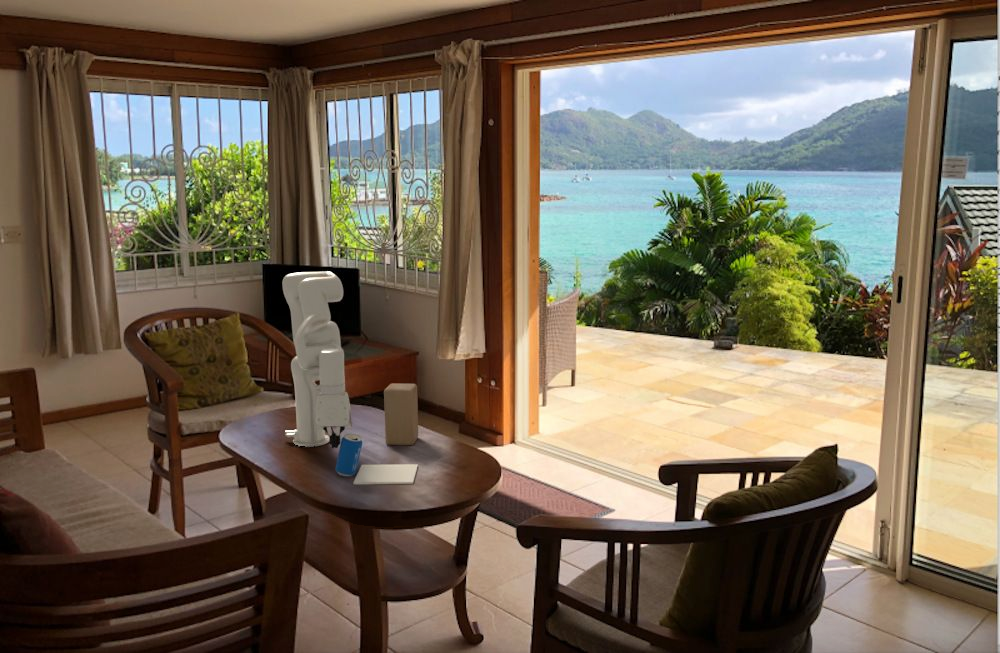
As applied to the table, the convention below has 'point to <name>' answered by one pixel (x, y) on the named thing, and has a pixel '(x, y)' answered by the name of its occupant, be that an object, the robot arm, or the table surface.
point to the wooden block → (401, 414)
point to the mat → (386, 474)
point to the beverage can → (349, 455)
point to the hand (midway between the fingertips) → (335, 446)
